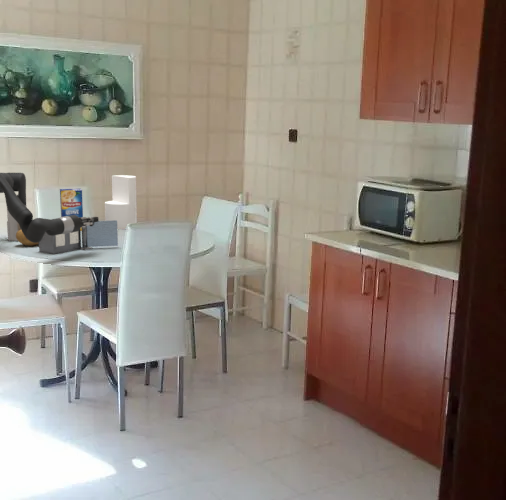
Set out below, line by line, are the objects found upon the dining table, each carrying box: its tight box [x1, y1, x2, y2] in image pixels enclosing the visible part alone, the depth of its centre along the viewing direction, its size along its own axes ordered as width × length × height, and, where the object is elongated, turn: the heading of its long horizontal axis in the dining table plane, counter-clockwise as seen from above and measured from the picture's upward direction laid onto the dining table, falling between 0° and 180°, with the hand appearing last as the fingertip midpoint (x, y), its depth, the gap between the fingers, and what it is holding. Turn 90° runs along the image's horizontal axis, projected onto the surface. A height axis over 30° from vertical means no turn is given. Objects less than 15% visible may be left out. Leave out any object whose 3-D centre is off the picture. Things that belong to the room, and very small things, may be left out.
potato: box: [16, 230, 39, 247], centre depth 330 cm, size 10×14×8 cm
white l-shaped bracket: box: [104, 174, 138, 231], centre depth 381 cm, size 17×17×28 cm
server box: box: [38, 230, 94, 255], centre depth 320 cm, size 20×14×11 cm
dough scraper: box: [81, 220, 119, 248], centre depth 325 cm, size 16×2×12 cm, turn 106°
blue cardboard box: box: [59, 188, 84, 232], centre depth 370 cm, size 7×11×22 cm, turn 110°
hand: (97, 219), depth 316 cm, fingers closed
